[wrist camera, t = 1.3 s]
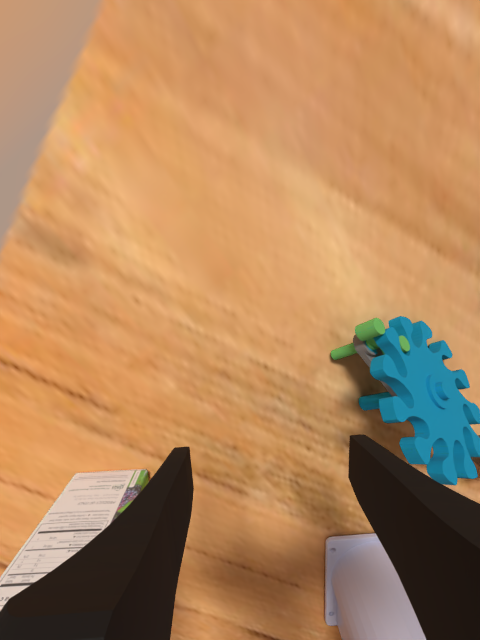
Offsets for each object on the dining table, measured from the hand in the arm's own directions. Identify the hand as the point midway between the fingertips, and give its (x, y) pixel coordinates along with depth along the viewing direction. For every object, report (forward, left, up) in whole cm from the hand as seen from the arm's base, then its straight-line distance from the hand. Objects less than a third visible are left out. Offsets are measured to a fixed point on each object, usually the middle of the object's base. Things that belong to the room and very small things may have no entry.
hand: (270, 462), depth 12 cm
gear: (0, -10, -10) cm, 14 cm away
